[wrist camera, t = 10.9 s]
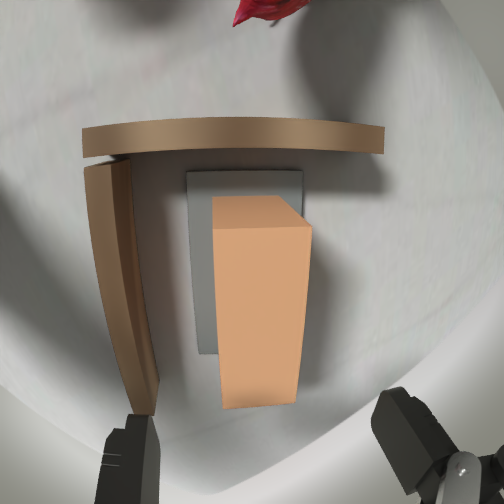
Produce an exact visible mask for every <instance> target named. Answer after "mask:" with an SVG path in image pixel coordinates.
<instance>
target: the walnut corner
mask: <svg viewBox="0 0 504 504" xmlns="http://www.w3.org/2000/svg"><path fill="white" fill-rule="evenodd" d="M384 131H385V127H380V126H373V125H365V124H356V123H347V122H336V121H325V120H311V119H295V118H271V117H206V118H182V119H165V120H152V121H140V122H130V123H121V124H112V125H104V126H97V127H90V128H83V129H82V145H83V158H87V157H95V156H104V155H113V154H124V153H135V152H147V151H161V150H179V149H202V148H297V149H320V150H337V151H352V152H364V153H375V154H384ZM84 179H85V191H86V201H87V211H88V219H89V227H90V234H91V241H92V248H93V254H94V260H95V266H96V272H97V277H98V283H99V288H100V293H101V298H102V302H103V307H104V311H105V316H106V320H107V324H108V328H109V332H110V336H111V340H112V344H113V348H114V352H115V355H116V359H117V362H118V366H119V369H120V373H121V376H122V379H123V382H124V386H125V389H126V392H127V395H128V398H129V401H130V404H131V407H132V410H133V413H134V414H144V415H151V416H154V413H155V406H156V399H157V393H158V386H159V376H158V371H157V367H156V362H155V357H154V352H153V347H152V342H151V337H150V331H149V326H148V320H147V314H146V308H145V302H144V296H143V289H142V282H141V275H140V267H139V259H138V251H137V242H136V233H135V223H134V212H133V199H132V185H131V167H130V159H124V160H113V161H106V162H102V163H99V164H95V165H91V166H88V167H85V168H84Z"/></svg>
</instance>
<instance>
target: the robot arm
mask: <svg viewBox="0 0 504 504" xmlns="http://www.w3.org/2000/svg"><path fill="white" fill-rule="evenodd" d="M371 428H372V431H373V433H374V435H375V437H376V439H377V440H378V442H379V444H380V446H381V448H382V450H383V451H384V453H385V455H386V457H387V459H388V461H389V463H390V464H391V466H392V468H393V470H394V472H395V474H396V476H397V477H398V480H399V482H400V483H401V485H402V487H403V489H404V491H405V493H406V495H410V494H412V493H414V492H418V493H419V495H420V496H419V497H418V499H417V502H416V504H504V499H503V498H502V496H501V494H500V492H499V491H500V490H501V489H502V488H503V489H504V445H503V446H501V447H500V448H499V450H498V451H497V452H496V453H495V454H492V455H487V456H481V457H476V456H475V455H474V454H472V453H470V452H466V451H459V450H458V449H457V447H456V446H455V444H454V443H453V442H452V440H451V439H450V437H449V436H448V434H447V433H446V432H445V430H444V429H443V427H442V426H441V425H440V423H438V422H437V419H436V418H435V416H434V415H432V412H431V411H430V410H429V408H428V407H427V406H426V404H425V403H423V402H422V401H420V400H419V399H418V398H416V397H415V396H414V397H410V395H409V394H408V393H407V391H406V390H405V389H404V388H403V387H396V388H392V389H389V390H384V391H382V392H381V394H380V396H379V399H378V401H377V404H376V407H375V410H374V412H373V414H372V417H371ZM103 453H104V455H103V457H102V462H101V463H102V466H101V468H100V473H99V479H98V484H97V490H96V497H95V502H94V504H159V479H160V443H159V439H158V436H157V433H156V429H155V426H154V423H153V419H152V416H151V415H144V414H128V416H127V420H126V426H125V429H118V428H114V429H113V431H112V432H111V434H110V435H109V436H108V438H107V439H106V442H105V447H104V452H103Z"/></svg>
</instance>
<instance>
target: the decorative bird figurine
mask: <svg viewBox="0 0 504 504" xmlns="http://www.w3.org/2000/svg"><path fill="white" fill-rule="evenodd" d="M310 1H311V0H241V1H240V5H239V8H238V10H237V11H236V15H235V18H234V22H233V27H235V26H236V25H237V24H240V23H242V22H243V21H246V20H248V19H249V18H251V17H256V18H261V19H265V20H270V21H271V20H278V19H281V18H284V17H286V16H288V15H290V14H292V13H294V12H296V11H297V10H299V9H300V8H302V7H303V6H305V5H306V4H307V3H309V2H310Z"/></svg>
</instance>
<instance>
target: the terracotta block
mask: <svg viewBox="0 0 504 504" xmlns="http://www.w3.org/2000/svg"><path fill="white" fill-rule="evenodd" d="M212 217H213V254H214V278H215V299H216V317H217V334H218V350H219V365H220V379H221V392H222V404H223V409H233V408H248V407H260V406H271V405H280V404H289V403H295V400H296V393H297V385H298V377H299V369H300V361H301V352H302V343H303V333H304V324H305V313H306V303H307V292H308V280H309V267H310V253H311V239H312V226H311V225H310V224H309V223H308V222H307V221H306V220H305V219H304V218H302V217H301V216H300V215H299V214H298V213H297V212H296V211H295V210H294V209H293V208H292V207H291V206H290V205H288V204H287V203H286V202H285V201H284V200H283V199H282V198H281V197H280V196H222V197H212Z"/></svg>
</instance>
